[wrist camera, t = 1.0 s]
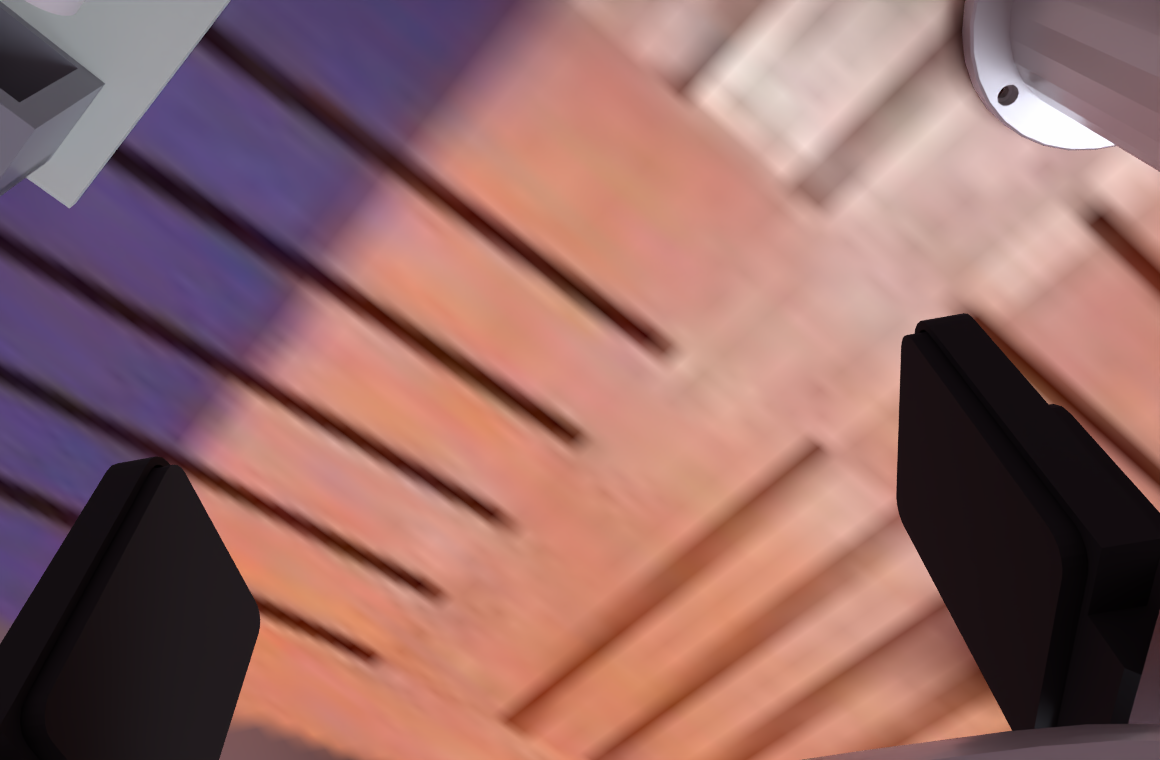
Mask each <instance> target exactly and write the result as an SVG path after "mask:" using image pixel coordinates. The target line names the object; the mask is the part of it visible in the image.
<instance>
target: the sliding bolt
mask: <svg viewBox="0 0 1160 760" xmlns="http://www.w3.org/2000/svg"><path fill="white" fill-rule="evenodd" d="M25 1H26V2H28V3H30V4H32V5H34V6H36V7H38V8H40V9H42V10H44V11H47V12H50V13H53V14H57V15H62V16H71V15H74V14H76V13H77V11H78V10H79V8H80V7H81V5H82V4H83V2H84V1H85V0H25Z"/></svg>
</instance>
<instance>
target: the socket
mask: <svg viewBox="0 0 1160 760" xmlns="http://www.w3.org/2000/svg"><path fill="white" fill-rule="evenodd" d="M104 85H105V83H104V82H102V81H101V80H100V79H99V78H97V77H96V76H95V75H94V74H92V73H91V72H90V71H88V70H87V69H86V68H85V67H83V66H82V65H81V64H80V63H78V62H77V61H76V60H74V59H73V58H72V57H71V56H69V55H68V54H67V53H66V52H64V51H63V50H62V49H61V48H59V47H58V46H57V45H55V44H54V43H53V42H52V41H50V40H49V39H48V38H47V37H45V36H44V35H43V34H42V33H40V32H39V31H38V30H36V29H35V28H34V27H33V26H31V25H30V24H29V23H28V22H26V21H25V20H24V19H22V18H21V17H20V16H19V15H17V14H16V13H15V12H14V11H12V10H11V9H10V8H9V7H7V6H6V5H5V4H3V3H2V2H1V1H0V196H1V195H3V194H4V193H6V192H7V191H8V190H10V189H11V188H12V187H14V186H15V185H16V184H18V183H19V182H21V181H22V180H23V179H25V178H26V177H27V176H29V175H30V174H31V173H33V172H34V171H36V170H37V169H38V168H40V167H41V166H42V165H44V164H45V163H46V162H48V161H49V160H50V159H51V157H52V156H53V155H54V153H55V152H56V150H57V149H58V148H59V146H60V145H61V144H62V142H63V141H64V139H65V138H66V137H67V135H68V134H69V133H70V131H71V130H72V129H73V127H74V126H75V124H76V123H77V122H78V120H79V119H80V118H81V116H82V115H83V113H84V112H85V111H86V109H87V108H88V107H89V105H90V104H91V102H92V101H93V100H94V98H95V97H96V96H97V94H98V93H99V91H100V90H101V89H102V87H103V86H104Z"/></svg>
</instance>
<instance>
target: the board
mask: <svg viewBox="0 0 1160 760" xmlns="http://www.w3.org/2000/svg"><path fill="white" fill-rule="evenodd" d="M0 1H1V2H2V3H3V4H5V5H6V6H7V7H9V8H10V9H11V10H12V11H14V12H15V13H16V14H17V15H19V16H20V17H21V18H22V19H24V20H25V21H26V22H28V23H29V24H30V25H31V26H33V27H34V28H35V29H36V30H38V31H39V32H40V33H42V34H43V35H44V36H45V37H47V38H48V39H49V40H50V41H52V42H53V43H54V44H55V45H57V46H58V47H59V48H61V49H62V50H63V51H64V52H66V53H67V54H68V55H69V56H71V57H72V58H73V59H74V60H76V61H77V62H78V63H80V64H81V65H82V66H83V67H85V68H86V69H87V70H88V71H90V72H91V73H92V74H94V75H95V76H96V77H97V78H99V79H100V80H101V81H102V82H104V83H105V85H104V86H103V87H102V89H101V90H100V91H99V93H98V94H97V96H96V97H95V98H94V100H93V101H92V102H91V104H90V105H89V107H88V108H87V109H86V111H85V112H84V113H83V115H82V116H81V118H80V119H79V120H78V122H77V123H76V124H75V126H74V127H73V129H72V130H71V131H70V133H69V134H68V135H67V137H66V138H65V139H64V141H63V142H62V144H61V145H60V146H59V148H58V149H57V150H56V152H55V153H54V155H53V156H52V157H51V159H50V160H49V161H48V162H46V163H45V164H44V165H42V166H41V167H40V168H38V169H37V170H36V171H34V172H33V173H31V174H30V175H29V176H27V177H26V178H27V179H29V180H30V181H32V182H33V183H34V184H36V185H37V186H39V187H40V188H41V189H43V190H44V191H46V192H47V193H49V194H50V195H51V196H53V197H54V198H56V199H57V200H58V201H60V202H61V203H63V204H64V205H65V206H67V207H68V208H71V207H72V206H73V205H74V204H75V203H76V202H77V201H78V200H79V198H80V197H81V196H82V194H83V193H84V192H85V190H86V189H87V188H88V186H89V185H90V184H91V183H92V181H93V180H94V179H95V177H96V176H97V175H98V173H99V172H100V171H101V169H102V168H103V167H104V166H105V164H106V163H107V162H108V160H109V159H110V158H111V156H112V155H113V154H114V152H115V151H116V150H117V149H118V147H119V146H120V145H121V143H122V142H123V141H124V139H125V138H126V137H127V135H128V134H129V133H130V132H131V130H132V129H133V128H134V126H135V125H136V124H137V122H138V121H139V120H140V118H141V117H142V116H143V115H144V113H145V112H146V111H147V109H148V108H149V107H150V105H151V104H152V103H153V101H154V100H155V99H156V98H157V96H158V95H159V94H160V92H161V91H162V90H163V88H164V87H165V86H166V84H167V83H168V82H169V80H170V79H171V78H172V77H173V75H174V74H175V73H176V71H177V70H178V69H179V67H180V66H181V65H182V63H183V62H184V61H185V60H186V58H187V57H188V56H189V54H190V53H191V52H192V50H193V49H194V48H195V46H196V45H197V44H198V43H199V41H200V40H201V39H202V37H203V36H204V35H205V33H206V32H207V31H208V29H209V28H210V27H211V26H212V24H213V23H214V22H215V20H216V19H217V18H218V16H219V15H220V14H221V12H222V11H223V10H224V9H225V7H226V6H227V5H228V3H229V2H230V1H231V0H85V1H84V2H83V4H82V5H81V7H80V8H79V10H78V11H77V13H76V14H74V15H71V16H62V15H57V14H53V13H50V12H47V11H44V10H42V9H40V8H38V7H36V6H34V5H32V4H30V3H28V2H26V1H25V0H0Z"/></svg>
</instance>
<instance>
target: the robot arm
mask: <svg viewBox="0 0 1160 760" xmlns="http://www.w3.org/2000/svg"><path fill="white" fill-rule="evenodd" d="M962 39H963V48H964V57H965V64H966V67H967V70H968V73H969V76H970V79H971V82H972V85H973V87H974V89H975V90H976V92H977V94H978V95H979V97H980V98H981V100H982V102H983V103H984V105H985V107H986V108H987V109H988V110H989V111H990V112H991V113H992V114H993V115H994V116H995V117H996V118H997V119H998V120H1000V121H1001V122H1002V123H1003V124H1004V125H1005V126H1007V127H1008V128H1010V129H1012V130H1013V131H1015V132H1016V133H1017V134H1019V135H1020V136H1022V137H1024V138H1026V139H1029V140H1031V141H1033V142H1036V143H1038V144H1041V145H1043V146H1048V147H1053V148H1059V149H1064V150H1097V149H1102V148H1108V147H1113V146H1118V147H1120V148H1121V149H1123V150H1125V151H1126V152H1128V153H1130V154H1131V155H1133V156H1135V157H1136V158H1138V159H1140V160H1141V161H1143V162H1144V163H1146V164H1148V165H1149V166H1151V167H1153V168H1154V169H1156V170H1158V171H1159V172H1160V0H965V4H964V16H963V28H962ZM1003 87H1004V90H1003V92H1002V93H1001V94H999V95H998V93H999V92H1000V90H1001V89H1002V88H1003ZM896 496H897V506H898V511H899V515H900V518H901V521H902V523H903V525H904V527H905V529H906V531H907V533H908V535H909V536H910V538H911V540H912V542H913V544H914V546H915V548H916V550H917V552H918V553H919V555H920V557H921V559H922V561H923V563H924V565H925V567H926V569H927V570H928V572H929V574H930V576H931V578H932V580H933V582H934V584H935V586H936V587H937V589H938V591H939V593H940V595H941V597H942V599H943V601H944V603H945V604H946V606H947V608H948V610H949V612H950V614H951V616H952V618H953V620H954V621H955V623H956V625H957V627H958V629H959V631H960V633H961V635H962V637H963V638H964V640H965V642H966V644H967V646H968V648H969V650H970V652H971V654H972V655H973V657H974V659H975V661H976V663H977V665H978V667H979V669H980V671H981V672H982V674H983V676H984V678H985V680H986V682H987V684H988V686H989V688H990V689H991V691H992V693H993V695H994V697H995V699H996V701H997V703H998V705H999V706H1000V708H1001V710H1002V712H1003V714H1004V716H1005V718H1006V720H1007V722H1008V723H1009V725H1010V727H1011V729H1012V731H1007V732H1000V733H992V734H985V735H977V736H969V737H962V738H954V739H947V740H939V741H932V742H924V743H917V744H909V745H902V746H894V747H887V748H879V749H872V750H864V751H857V752H851V753H844V754H837V755H830V756H824V757H817V758H810V759H804V760H1160V513H1159V511H1158V510H1157V509H1156V508H1155V507H1154V506H1153V505H1152V504H1151V503H1150V501H1149V500H1148V499H1147V498H1146V497H1145V496H1144V495H1143V494H1142V492H1141V491H1140V490H1139V489H1138V488H1137V487H1136V486H1135V485H1134V484H1133V482H1132V481H1131V480H1130V479H1129V478H1128V477H1127V476H1126V475H1125V474H1124V472H1123V471H1122V470H1121V469H1120V468H1119V467H1118V466H1117V465H1116V464H1115V462H1114V461H1113V460H1112V459H1111V458H1110V457H1109V456H1108V455H1107V454H1106V452H1105V451H1104V450H1103V449H1102V448H1101V447H1100V446H1099V445H1098V444H1097V442H1096V441H1095V440H1094V439H1093V438H1092V437H1091V436H1090V435H1089V434H1088V432H1087V431H1086V430H1085V429H1084V428H1083V427H1082V426H1081V425H1080V423H1079V422H1078V421H1077V420H1076V419H1075V418H1074V417H1073V416H1072V415H1071V414H1070V413H1069V412H1068V411H1067V410H1066V409H1064V408H1063V407H1062V406H1059V405H1055V404H1050V405H1049V404H1048V403H1047V402H1046V401H1045V400H1044V399H1043V398H1042V397H1041V395H1040V394H1039V393H1038V392H1037V391H1036V390H1035V389H1034V387H1033V386H1032V385H1031V384H1030V383H1029V382H1028V381H1027V379H1026V378H1025V377H1024V376H1023V375H1022V374H1021V373H1020V371H1019V370H1018V369H1017V368H1016V367H1015V366H1014V365H1013V363H1012V362H1011V361H1010V360H1009V359H1008V358H1007V357H1006V355H1005V354H1004V353H1003V352H1002V351H1001V350H1000V349H999V347H998V346H997V345H996V344H995V343H994V342H993V341H992V339H991V338H990V337H989V336H988V335H987V334H986V333H985V331H984V330H983V329H982V328H981V327H980V326H979V325H978V323H977V322H976V321H975V320H974V319H973V318H972V317H971V316H970V315H969V314H964V313H963V314H957V315H952V316H946V317H941V318H935V319H929V320H924V321H920V322H919V323H918V324H917V326H916V329H915V334H911V335H906V336H904V337H903V340H902V345H901V371H900V402H899V432H898V462H897V493H896ZM259 629H260V614H259V609H258V606H257V604H256V602H255V600H254V598H253V596H252V594H251V592H250V591H249V589H248V587H247V585H246V583H245V581H244V580H243V578H242V576H241V574H240V572H239V570H238V569H237V567H236V565H235V563H234V561H233V560H232V558H231V556H230V554H229V552H228V550H227V549H226V547H225V545H224V543H223V541H222V539H221V538H220V536H219V534H218V532H217V530H216V528H215V527H214V525H213V523H212V521H211V519H210V518H209V516H208V514H207V512H206V510H205V508H204V507H203V505H202V503H201V501H200V499H199V497H198V496H197V494H196V492H195V490H194V488H193V486H192V485H191V483H190V481H189V479H188V477H187V476H186V474H185V472H184V471H183V469H182V468H181V467H179V466H178V465H170V464H169V463H168V462H167V461H166V460H165V459H163V458H162V457H151V458H146V459H140V460H134V461H129V462H123V463H117V464H115V465H112V466H111V467H110V468H109V469H108V470H107V472H106V473H105V475H104V476H103V478H102V480H101V481H100V483H99V485H98V486H97V488H96V489H95V491H94V493H93V494H92V496H91V498H90V499H89V501H88V502H87V504H86V506H85V507H84V509H83V511H82V512H81V514H80V515H79V517H78V519H77V520H76V522H75V524H74V525H73V527H72V528H71V530H70V532H69V533H68V535H67V537H66V538H65V540H64V541H63V543H62V545H61V546H60V548H59V550H58V551H57V553H56V554H55V556H54V558H53V559H52V561H51V563H50V564H49V566H48V567H47V569H46V571H45V572H44V574H43V576H42V577H41V579H40V580H39V582H38V584H37V585H36V587H35V589H34V590H33V592H32V593H31V595H30V597H29V598H28V600H27V602H26V603H25V605H24V606H23V608H22V610H21V611H20V613H19V615H18V616H17V618H16V619H15V621H14V623H13V624H12V626H11V628H10V629H9V631H8V633H7V634H6V636H5V637H4V639H3V641H2V642H1V644H0V760H219V758H220V755H221V751H222V748H223V745H224V742H225V738H226V736H227V732H228V729H229V726H230V723H231V720H232V716H233V713H234V710H235V707H236V704H237V700H238V697H239V694H240V691H241V688H242V685H243V681H244V678H245V675H246V672H247V669H248V665H249V662H250V659H251V656H252V653H253V649H254V646H255V643H256V640H257V637H258V633H259Z"/></svg>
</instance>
